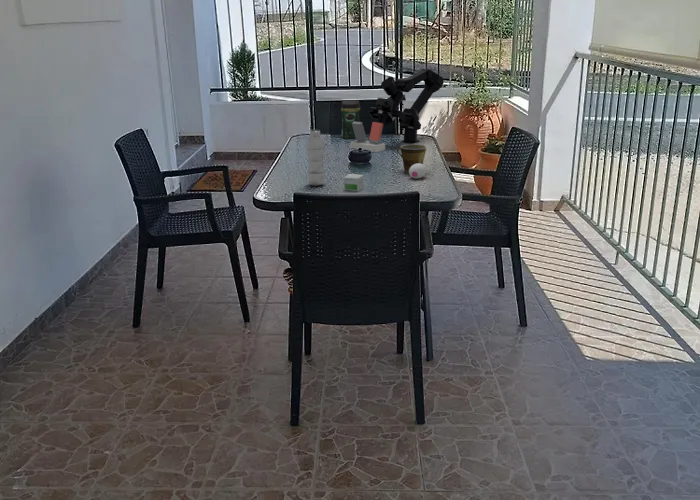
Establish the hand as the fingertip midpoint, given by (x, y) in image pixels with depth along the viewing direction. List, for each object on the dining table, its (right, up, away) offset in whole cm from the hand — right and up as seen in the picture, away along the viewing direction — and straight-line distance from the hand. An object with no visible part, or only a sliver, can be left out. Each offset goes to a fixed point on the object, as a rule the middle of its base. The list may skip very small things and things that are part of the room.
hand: (378, 129), depth 294 cm
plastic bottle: (-25, -31, -57) cm, 70 cm away
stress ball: (+12, -28, -49) cm, 58 cm away
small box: (-11, -33, -63) cm, 72 cm away
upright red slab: (-2, -5, 0) cm, 6 cm away
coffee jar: (-12, +2, +32) cm, 34 cm away
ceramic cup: (+11, -24, -39) cm, 47 cm away
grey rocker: (-8, -4, +5) cm, 10 cm away
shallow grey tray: (-5, -8, +4) cm, 10 cm away
